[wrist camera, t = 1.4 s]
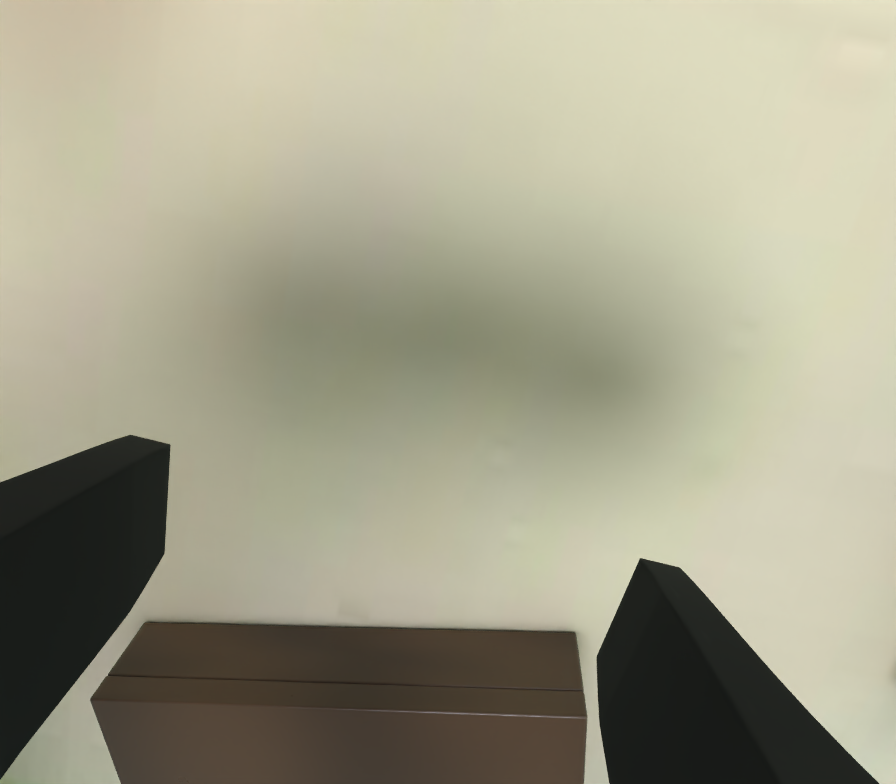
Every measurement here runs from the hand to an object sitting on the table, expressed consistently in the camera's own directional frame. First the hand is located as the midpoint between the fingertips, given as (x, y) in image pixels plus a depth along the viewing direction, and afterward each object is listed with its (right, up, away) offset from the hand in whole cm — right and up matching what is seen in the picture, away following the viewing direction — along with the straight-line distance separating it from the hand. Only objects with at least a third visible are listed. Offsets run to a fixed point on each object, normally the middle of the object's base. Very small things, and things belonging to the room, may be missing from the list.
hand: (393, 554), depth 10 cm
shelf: (-2, -11, +16) cm, 19 cm away
